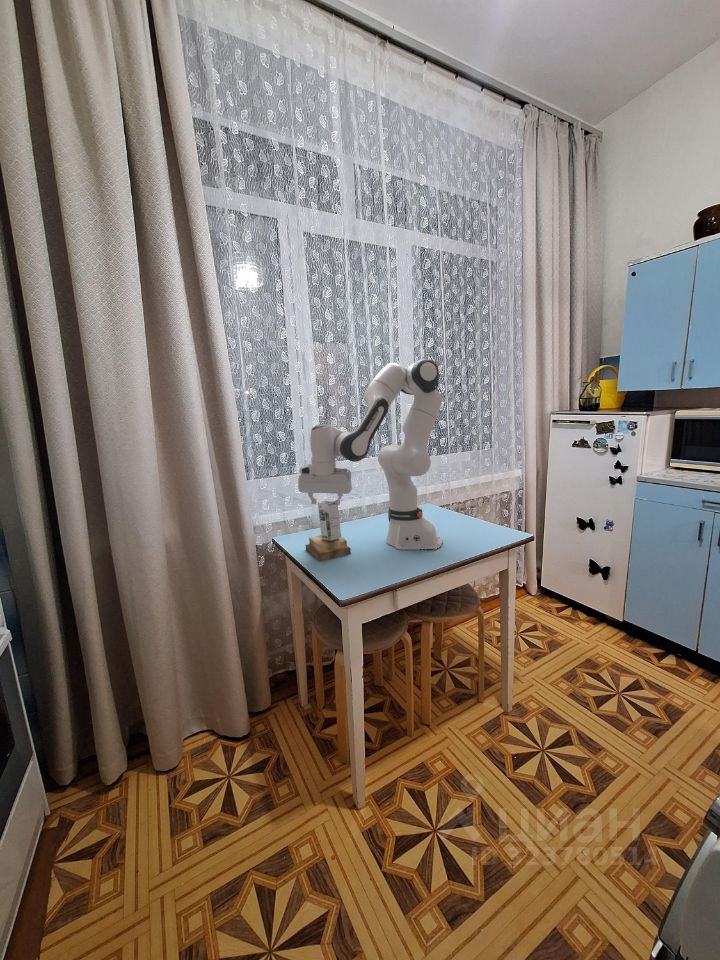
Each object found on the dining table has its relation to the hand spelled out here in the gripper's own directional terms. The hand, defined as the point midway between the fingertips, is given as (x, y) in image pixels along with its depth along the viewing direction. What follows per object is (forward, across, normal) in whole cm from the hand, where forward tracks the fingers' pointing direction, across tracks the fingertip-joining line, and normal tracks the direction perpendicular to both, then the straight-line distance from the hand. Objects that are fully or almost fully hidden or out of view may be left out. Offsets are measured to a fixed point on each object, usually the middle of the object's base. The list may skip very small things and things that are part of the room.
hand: (325, 504), depth 148 cm
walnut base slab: (+20, 0, 0) cm, 20 cm away
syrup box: (+14, -2, 0) cm, 14 cm away
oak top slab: (+17, 0, 0) cm, 17 cm away
